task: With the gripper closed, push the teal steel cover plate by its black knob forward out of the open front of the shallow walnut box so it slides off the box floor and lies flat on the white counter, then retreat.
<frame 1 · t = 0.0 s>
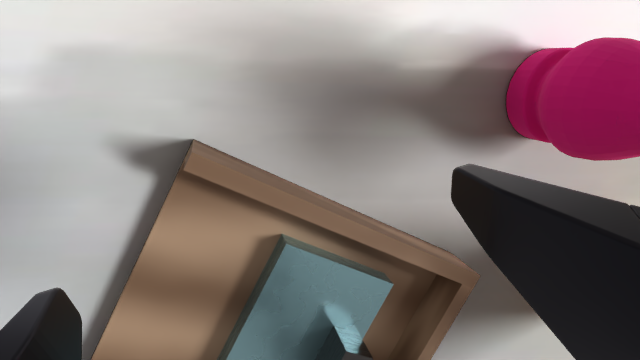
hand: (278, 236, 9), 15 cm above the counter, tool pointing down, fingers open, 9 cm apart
walnut box: (278, 318, 28), on the counter
pepper mill: (540, 94, 29), on the counter
cover plate: (294, 330, 27), point 1 cm above the counter, touching walnut box
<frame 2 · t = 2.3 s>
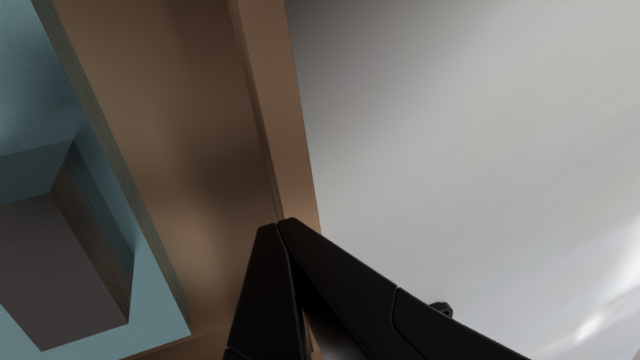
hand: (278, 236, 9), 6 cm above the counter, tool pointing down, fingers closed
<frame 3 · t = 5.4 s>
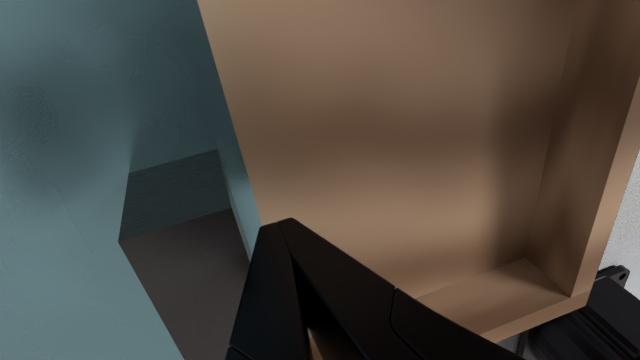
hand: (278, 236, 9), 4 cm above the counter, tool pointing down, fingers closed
walnut box: (301, 144, 13), on the counter
cover plate: (105, 223, 11), point 1 cm above the counter, touching gripper
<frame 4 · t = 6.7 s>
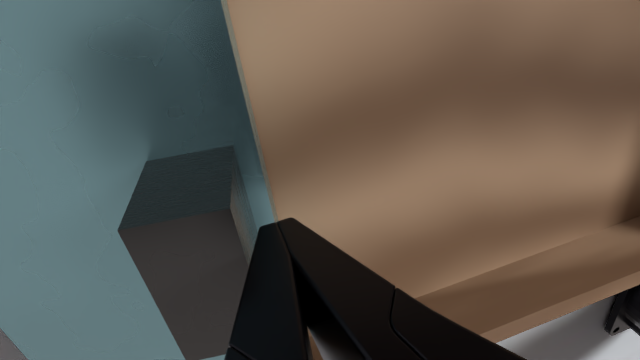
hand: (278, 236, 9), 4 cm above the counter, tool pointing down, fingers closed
walnut box: (489, 93, 14), on the counter
cover plate: (129, 205, 11), point 1 cm above the counter, tilted 9°, touching gripper, walnut box
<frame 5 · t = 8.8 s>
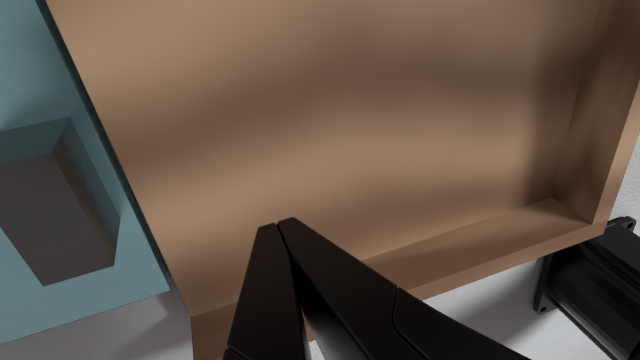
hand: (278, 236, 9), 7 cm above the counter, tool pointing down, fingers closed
walnut box: (384, 84, 16), on the counter
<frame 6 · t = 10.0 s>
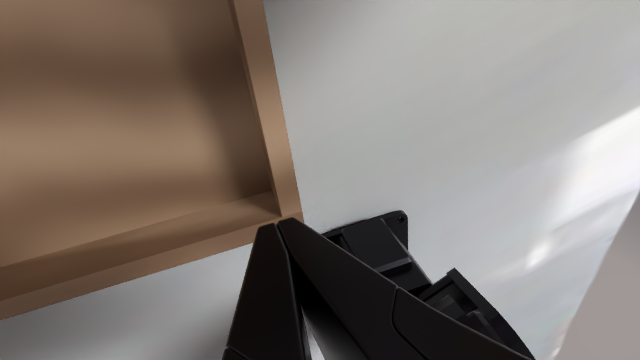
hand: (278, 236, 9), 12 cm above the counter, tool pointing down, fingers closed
walnut box: (12, 77, 16), on the counter
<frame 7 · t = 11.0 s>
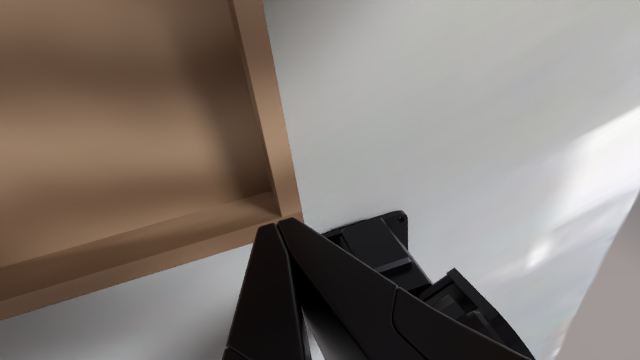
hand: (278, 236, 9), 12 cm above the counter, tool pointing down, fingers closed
walnut box: (12, 77, 16), on the counter
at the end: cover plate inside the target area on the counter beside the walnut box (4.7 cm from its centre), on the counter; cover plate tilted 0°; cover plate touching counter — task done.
